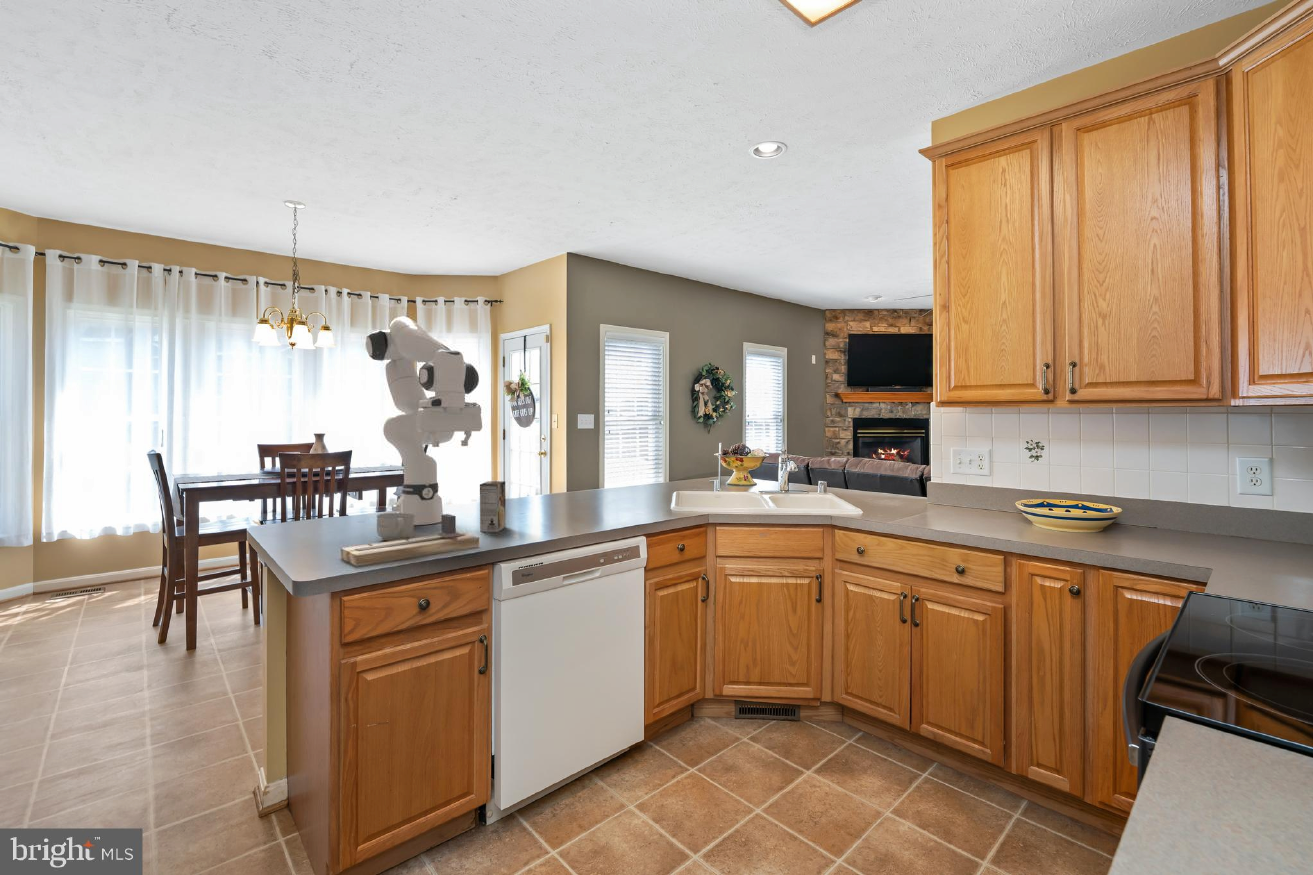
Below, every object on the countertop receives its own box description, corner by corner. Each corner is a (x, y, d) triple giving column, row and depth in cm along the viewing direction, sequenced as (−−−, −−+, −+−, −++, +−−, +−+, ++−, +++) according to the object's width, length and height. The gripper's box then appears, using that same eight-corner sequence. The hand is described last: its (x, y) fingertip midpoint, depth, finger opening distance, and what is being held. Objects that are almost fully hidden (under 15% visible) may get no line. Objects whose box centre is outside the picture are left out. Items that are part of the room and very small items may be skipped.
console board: (341, 558, 162) (341, 546, 162) (459, 540, 186) (459, 530, 186) (356, 566, 154) (356, 554, 154) (479, 546, 178) (479, 536, 178)
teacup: (377, 537, 191) (377, 512, 190) (414, 535, 195) (414, 510, 195) (375, 546, 178) (375, 519, 178) (415, 543, 182) (415, 517, 182)
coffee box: (487, 526, 210) (487, 480, 209) (506, 527, 210) (505, 481, 209) (479, 531, 201) (479, 483, 200) (498, 532, 201) (498, 484, 200)
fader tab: (438, 535, 178) (438, 515, 177) (451, 533, 180) (451, 513, 180) (445, 537, 174) (445, 517, 174) (458, 535, 177) (458, 515, 177)
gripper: (476, 402, 196) (476, 445, 197) (413, 401, 182) (414, 447, 183) (485, 402, 192) (485, 445, 192) (422, 401, 178) (422, 447, 178)
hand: (450, 446), depth 187 cm, fingers open, 8 cm apart
